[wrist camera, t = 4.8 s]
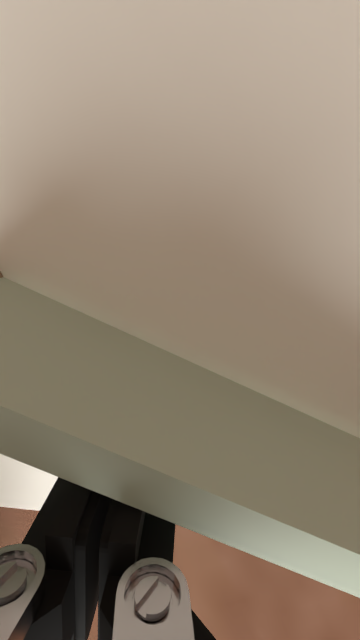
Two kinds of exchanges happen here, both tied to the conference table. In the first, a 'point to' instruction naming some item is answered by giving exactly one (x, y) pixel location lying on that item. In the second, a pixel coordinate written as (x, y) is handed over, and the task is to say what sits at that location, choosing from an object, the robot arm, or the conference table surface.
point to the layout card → (190, 186)
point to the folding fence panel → (176, 439)
